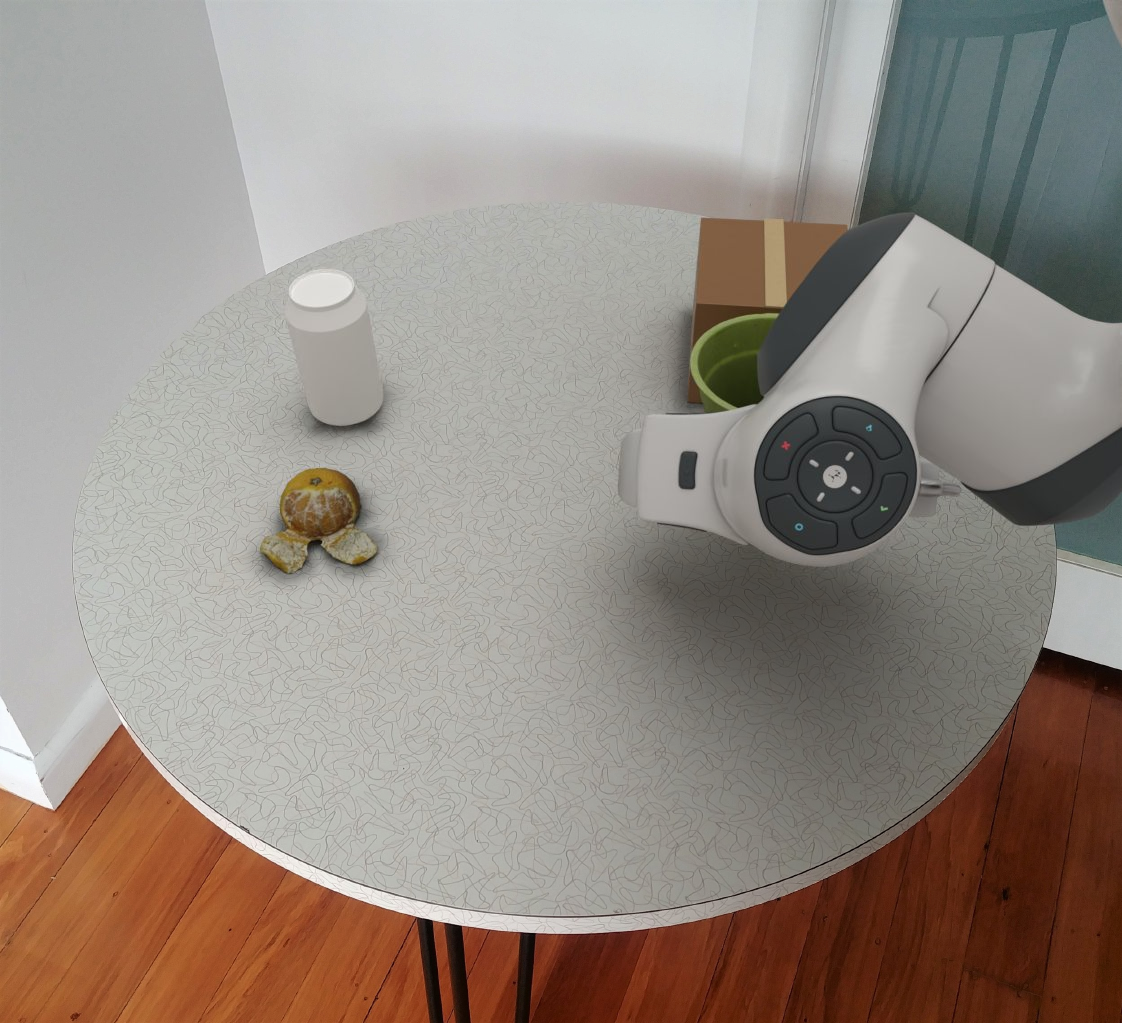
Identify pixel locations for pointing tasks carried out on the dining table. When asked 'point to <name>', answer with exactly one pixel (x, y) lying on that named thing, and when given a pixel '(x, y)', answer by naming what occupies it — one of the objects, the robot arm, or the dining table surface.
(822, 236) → the carton
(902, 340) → the robot arm
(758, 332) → the plant pot
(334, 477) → the fruit
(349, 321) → the beverage can
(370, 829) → the dining table surface
